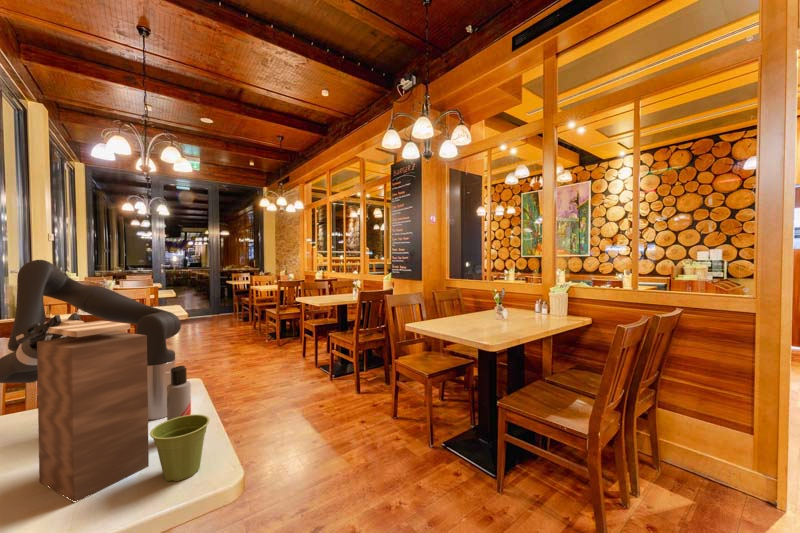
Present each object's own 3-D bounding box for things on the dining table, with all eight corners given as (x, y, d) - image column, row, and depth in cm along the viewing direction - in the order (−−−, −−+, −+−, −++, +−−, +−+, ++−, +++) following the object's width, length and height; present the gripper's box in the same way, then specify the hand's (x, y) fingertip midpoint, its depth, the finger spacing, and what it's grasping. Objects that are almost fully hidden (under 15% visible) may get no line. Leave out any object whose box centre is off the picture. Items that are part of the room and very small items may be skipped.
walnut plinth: (39, 482, 77) (36, 341, 77) (112, 451, 90) (111, 330, 89) (74, 503, 70) (72, 348, 70) (148, 466, 83) (146, 335, 83)
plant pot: (188, 454, 88) (187, 411, 88) (221, 464, 83) (220, 418, 83) (138, 481, 77) (137, 432, 77) (173, 495, 73) (172, 442, 72)
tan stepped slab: (29, 329, 83) (29, 322, 83) (81, 322, 92) (81, 316, 92) (77, 337, 73) (77, 329, 73) (130, 328, 82) (130, 322, 82)
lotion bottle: (195, 433, 99) (195, 365, 98) (177, 443, 93) (176, 371, 93) (181, 430, 101) (180, 363, 100) (162, 440, 95) (161, 369, 95)
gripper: (-2, 338, 86) (24, 307, 79) (71, 328, 98) (97, 301, 92) (5, 366, 84) (31, 336, 78) (78, 352, 97) (105, 325, 90)
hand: (67, 317), depth 85 cm, fingers closed on tan stepped slab, 2 cm apart
